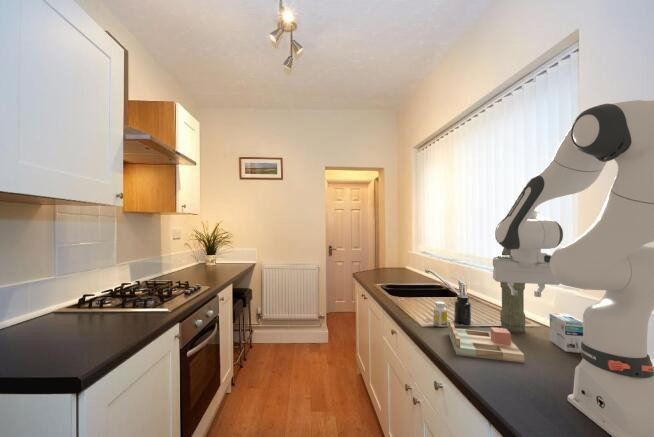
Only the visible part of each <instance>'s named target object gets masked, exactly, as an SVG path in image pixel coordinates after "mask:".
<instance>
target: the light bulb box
mask: <svg viewBox="0 0 654 437" xmlns="http://www.w3.org/2000/svg"><path fill="white" fill-rule="evenodd" d="M548 315H549V317H548V318H549V341H550V342H551V343H552V344H554V345H556V346H557V347H558V348H560V349H561V350H563V351H564V352H568V353H578V354H579V353H580V354H581V350H580V347H581V342H582V341H583V319H582V320H581V319H579V318H577V317H575V316H573V315H570V314H569V313H561V312H560V313H557V312H549V314H548Z"/></svg>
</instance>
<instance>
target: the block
mask: <svg viewBox="0 0 654 437" xmlns="http://www.w3.org/2000/svg"><path fill="white" fill-rule="evenodd" d="M490 332H491V339H492V340H493V342H494V343H495V344H505V345H511V341H512V334H511V333H512V332H509V331H508V330H507V329H505V328H501V327H494V326H493V327H491V326H490Z"/></svg>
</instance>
